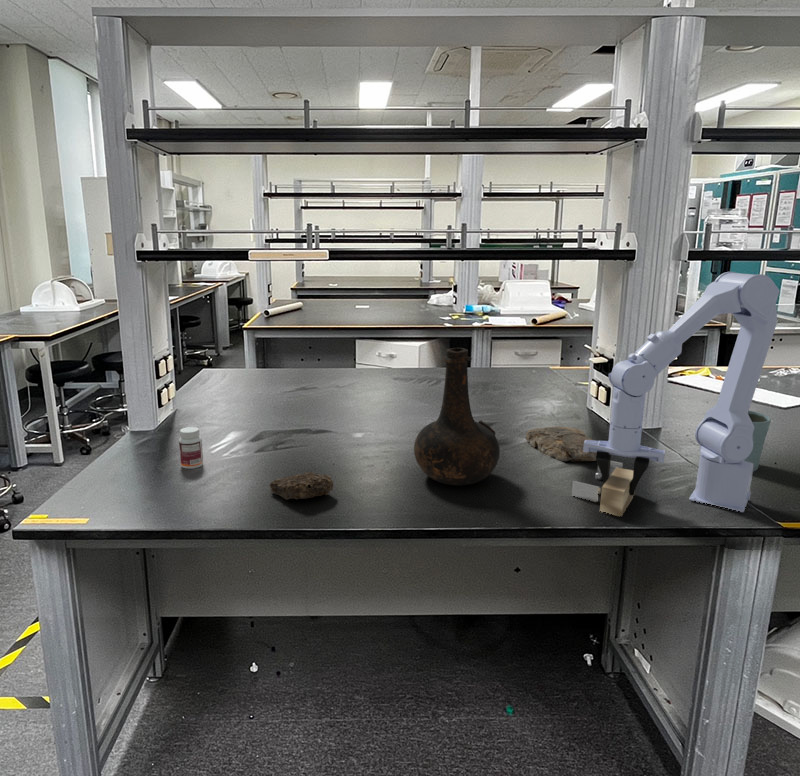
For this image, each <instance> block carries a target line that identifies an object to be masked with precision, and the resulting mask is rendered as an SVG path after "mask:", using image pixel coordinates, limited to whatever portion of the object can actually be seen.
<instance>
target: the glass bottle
mask: <svg viewBox="0 0 800 776" xmlns="http://www.w3.org/2000/svg"><path fill="white" fill-rule="evenodd" d="M445 351H446V352H445V353H446V355H445V356H443V357H442V361H444V362H445V363H446V364H445V374H444V385H443V386H444V387H443V396H442V402H441V407H440V412H439V416H438V418H437V419H436V420H435V421H432V422H430V423H428V424H427V425H425V426H424V427H423V428H422V429H421V430H420V431H419V432H418V434H417V436H416V437H415V440H414V446H413V453H414V458H415V460H416V463H417V465H418V466H419V468H420V469H421V471H423V472H424V474H425V475H427V477H429V478H430V479H432V480H433V481H436V482H438V483H440V484H443V485H450V486H469V485H473V484H476V483H478V482H481V481H483V480H485V479H486V478H487V477H489V476H490V474H492V472H493V471H494V470H495V468H496V466H497V464H498V462H499V460H500V453H501V452H500V451H501V450H500V444H499V441H498V438H497V437H496V431H495V430H494V429H493V428H491V426H489V425H488V424H487V423H485V422H484V421H483V420H478V422H477V421H475V419H474V417H473V414H472V410H471V403H470V395H469V380H468V379H469V375H468V371H469V370H468V362H470V361H471V360H473V358H471V357H470V356H468V353H469V350H468V349H467V348H463V347H452V348H447V349H446V350H445Z"/></svg>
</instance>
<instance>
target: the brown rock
mask: <svg viewBox="0 0 800 776" xmlns="http://www.w3.org/2000/svg"><path fill="white" fill-rule="evenodd" d="M269 487H270V492H272V493H274V495H277V496H279V497H281V498H282V499H285V500H286V501H287V500H290V499H292V500H293V499H295V500H303V499H304V500H306V499H309V498H311V499H312V498H314V497H318V496H319V497H322V496H323V495H324V496H327V495H329V493H330V492H331V491H333V489H334V481H333V480H332V476H330V475H328V474H323V475H321V474H319V473H315V472H306V471H305V472H304V473H300V474H293V475H291V476H287V477H286V476H285V477H283V478H277V479H274V480H273V481H271V482H270V483H269Z"/></svg>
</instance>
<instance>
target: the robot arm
mask: <svg viewBox="0 0 800 776" xmlns="http://www.w3.org/2000/svg"><path fill="white" fill-rule="evenodd" d="M779 295H780V288H778V286H777V284H776V283H775V282H774V281H773V280H772V278H771V277H770V276H768V275H766V274H751V273H741V272H740V273H739V272H736V271H727V272H723V273H721V274H719V275H718V277H717V276H716V278H715V280H714V281H712V282H710V283H709V284H708V285H706V288H705V290H704V292H703V294H702V295H701V296H700V297H699V298H698V299H697V300H696V301H695V302H694V303H693V304H692V305H691V306H690V308H688V309H687V310H686V311H685V313H684V314H682V316H681V317H680V318H678V320H677V321H675V322H674V324H673V325H672V326H671V327H670V328H669V329H668V330H664V331H663V330H661V331H656V332H655V333H650V334H649V335H648V336H647V337H646V339H647V340H646V342H644V343H643V344H642V345H641V346H640V347H639V348H638V349H637V350H635V352H634V353H632V352H631V353H630V354H629V355H628V356H627V358H628V359H624V360H620V361H619V362H617V363H616V364H615V365H614V366H613V367H612V370H611V371H610V372H609V373H608V380H609V384H611V386H612V388H613V391H612V401H611V410H610V421H609V422H610V423H609V431H608V432H609V433H608V440H595V441H593V440H594V439H592V440H585V442H584V448H583V452H596V453H597V455H596V461H595V462H596V464H597V467H598V466H599V469H600V471H601V475H602V478H603V480H602V483H603V485H604V484H605V482H606V481H607V480H608V478H609V473H610V462H611V461H612V456H618V457H624V458H630V459H631V458H632V459H634V464H633V481H632V486H631V491H630V495H633V496H635V495H634V493H635V494H636V489H637V487H638V483H639V482H640V480H641V478H642V477H643V475H644V473H645V472H646V470H647V469H648V467H649V465H650V461H652V462H657V463H658V464H665V457H666V450H665V449H658V448H654V447H649V446H645V445H641V441H642V431H643V422H644V413H645V412H644V411H645V404H646V403H645V402H646V393H648V392H650V391H651V390H652V389H653V387H654V384H655V380H656V378H657V377H658V375H659V374H660V373H661V372H663V370H665V369H666V368H667V367H668V366H669V365H670V364H671V363H672V362H673V361H674V360H676V358H678V357H679V356H680V355H681V354H682V350H683V343H685V342H686V341H687V340H689V338H691V337H692V336H693V335H695V334H696V333H697V332H698V331H700V330H701V329H702V328H704V326H706V325H707V324H708V323H709V322H711V321H712V320H713V319H714V318H716V317H717V316H719V315H725V314H732V315H733V317H734V319H736V321H737V323H738V324H739V325H740V327H739V331H738V334H737V337H736V341H735V344H734V347H733V350H732V353H731V356H730V360H729V363H728V366H727V369H726V372H725V376H724V379H723V382H722V385H721V389H720V392H719V396H718V399H717V402H716V404H715V405H714V406H712V407H710V408H709V409H707V410H706V412H705V414H704V417H703V419H702V420H701V422H699V423H698V424H697V426H696V429H695V431H694V438H695V441H696V443H697V444H698V445H699V451H700V452H699V453H700V454H699V461H698V466H697V467H698V468H697V475H696V482H695V489H694V490H693V492H692V493H691V495H690V496H689V501H691V502H694V501H696V502H695V503H699V502H700V503H699V504H703V503H705V504H704V505H707V504H711V505H710V506H712V505H716V506H720V507H725V508H728V509H727V510H729V509H732V510H731V511H733V510H736V511H735V512H738V511H740V512H739V513H745V509H746V508H745V507H747V505H748V501H750V500H751V499H750V498H751V496H752V495H751V493H752V492H751V485H752V478H753V472H754V471H753V463H750V462H747V461H744V460H745V459H746V458H747V457H748V456H749V455H750V453H751V452H752V449H753V438H752V436H753V431H754V425H753V423H752V421H751V419H750V417H749V415H748V411H750V409H751V405H752V401H753V398H754V395H755V393H756V390H757V386H758V383H759V381H760V377H761V373H762V372H763V371H762V370H763V367H764V364H765V361H766V357H767V355H768V352H769V349H770V346H771V343H772V339H773V336H774V333H775V330H776V327H777V323H778V315H777V314H778V312H777V301H778V298H779ZM706 503H707V504H706ZM716 506H715V507H716ZM720 507H719V508H720ZM725 508H724V509H725Z"/></svg>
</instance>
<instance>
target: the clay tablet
mask: <svg viewBox="0 0 800 776" xmlns="http://www.w3.org/2000/svg"><path fill="white" fill-rule="evenodd" d="M525 440H526V442H527V443H529V445H530V446H531V447H532V446H533V448H534V449H536V448H535V447H538V451H539V452H540V453H542V454H543V455H544V454H545V455H544V456H546V455H548V456H550V457H549V458H554V457H555V458H554V459H556V458H557V459H556V460H558V459H559V460H558V461H562V462H569V461H570V460H571V461H570V462H596V455H597V453H596V452H583V448H584V442H585V440H593V441H596V440H594V439H591V438H589V437H587V435H586V433H585V432H584V431H583V430H581V429H579V428H574V427H567V426H547V427H543V428H533V429H529V430H527V431H526V434H525ZM548 456H547V457H548Z"/></svg>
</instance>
